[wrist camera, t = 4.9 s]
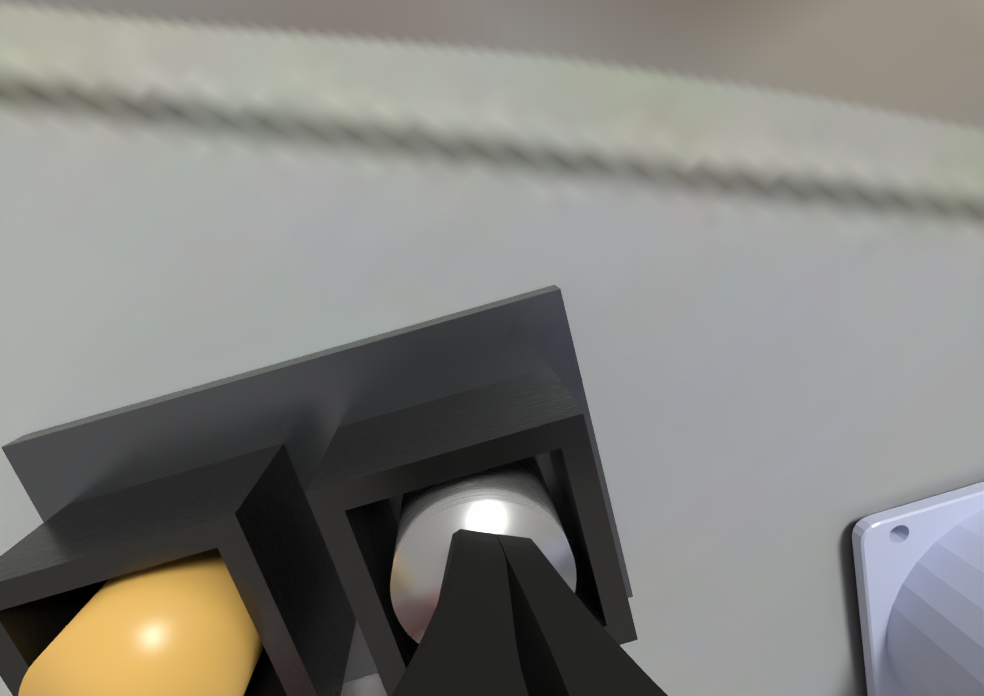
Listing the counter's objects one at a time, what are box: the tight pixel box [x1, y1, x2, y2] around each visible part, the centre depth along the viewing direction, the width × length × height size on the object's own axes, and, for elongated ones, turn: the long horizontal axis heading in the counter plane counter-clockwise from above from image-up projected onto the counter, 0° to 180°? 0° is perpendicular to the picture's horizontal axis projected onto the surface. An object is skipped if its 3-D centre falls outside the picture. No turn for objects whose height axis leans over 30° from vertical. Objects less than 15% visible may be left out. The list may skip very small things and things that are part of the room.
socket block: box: [0, 285, 637, 696], centre depth 11 cm, size 12×8×3 cm, turn 105°
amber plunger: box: [18, 548, 264, 696], centre depth 10 cm, size 3×3×3 cm
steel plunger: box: [390, 456, 577, 644], centre depth 11 cm, size 3×3×3 cm
